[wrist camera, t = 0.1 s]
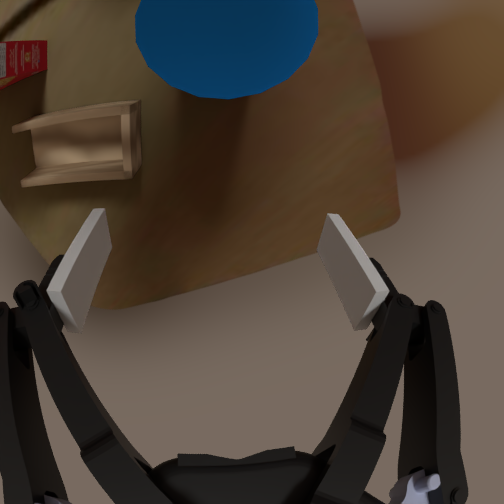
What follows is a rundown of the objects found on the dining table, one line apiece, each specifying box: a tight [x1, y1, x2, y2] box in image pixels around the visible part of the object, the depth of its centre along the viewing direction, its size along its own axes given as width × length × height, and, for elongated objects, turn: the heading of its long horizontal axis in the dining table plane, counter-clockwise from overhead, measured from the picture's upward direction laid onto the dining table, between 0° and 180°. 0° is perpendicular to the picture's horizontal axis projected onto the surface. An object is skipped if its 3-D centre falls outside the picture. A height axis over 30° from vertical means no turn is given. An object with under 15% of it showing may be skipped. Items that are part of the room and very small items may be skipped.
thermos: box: [135, 0, 318, 100], centre depth 21 cm, size 11×11×25 cm
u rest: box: [12, 100, 142, 187], centre depth 32 cm, size 10×20×6 cm, turn 84°
